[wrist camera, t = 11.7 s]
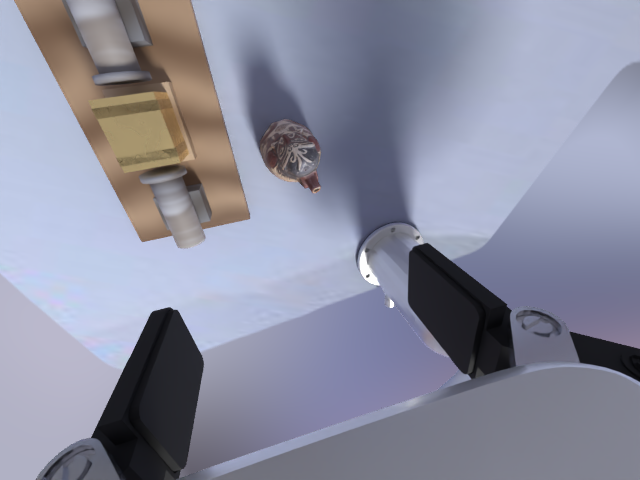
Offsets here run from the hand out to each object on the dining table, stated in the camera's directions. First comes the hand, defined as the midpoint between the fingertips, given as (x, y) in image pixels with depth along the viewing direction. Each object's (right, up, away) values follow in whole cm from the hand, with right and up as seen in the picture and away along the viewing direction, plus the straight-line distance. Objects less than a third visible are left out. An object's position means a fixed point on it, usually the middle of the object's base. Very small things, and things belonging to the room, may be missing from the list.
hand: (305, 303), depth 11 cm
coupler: (-17, +14, +17) cm, 28 cm away
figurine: (-4, +15, +25) cm, 29 cm away
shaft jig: (-18, +16, +20) cm, 31 cm away
